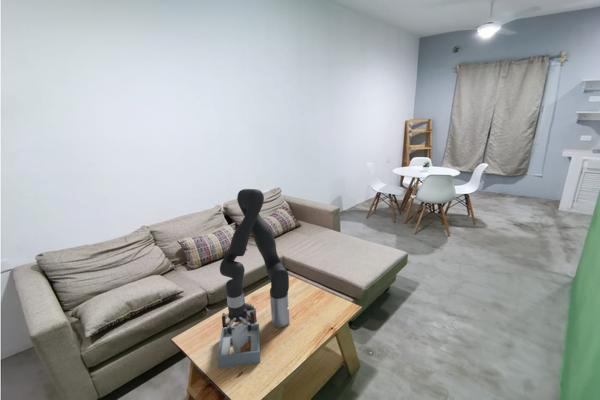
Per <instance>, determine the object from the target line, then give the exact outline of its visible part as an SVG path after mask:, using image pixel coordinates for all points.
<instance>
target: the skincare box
mask: <svg viewBox="0 0 600 400" xmlns="http://www.w3.org/2000/svg"><path fill="white" fill-rule="evenodd" d="M232 340H233V343H232V347H233V349H232V351H233V353H242V352H246V350H247V349H248V348H249V341H248V335H247V326H245V324H242V323H239V324H238V325H237V327H236V328H235V329H234V330H232Z"/></svg>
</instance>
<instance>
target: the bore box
mask: <svg viewBox="0 0 600 400" xmlns="http://www.w3.org/2000/svg"><path fill="white" fill-rule="evenodd" d="M244 325H245V324H244ZM237 326H238V325H237ZM237 326H231V334H229V333H228V330H227V327H225V328H223V327H222V328H221V332H220V338H219V344H218V351H217V364H218V369H221V368H222V369H223V368H230V367H237V366H243V365H251V364H252V365H253V364H260V363H261V337H260V336H261V334H260V323H252V324H251V330H250V332H249V331H248V324H246V325H245V326H247V335H248V342H250V351H244V352H242V353H235V352H233V353H231V344H233V340H232V330H234V329H235V328H236V327H237Z"/></svg>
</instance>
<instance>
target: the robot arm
mask: <svg viewBox="0 0 600 400" xmlns="http://www.w3.org/2000/svg"><path fill="white" fill-rule="evenodd" d="M264 196H265V195H264V193H263V192H262V191H261V190H260V189H257V188H256V189H255V188H254V189H253V188H244V189H241V190H239V192H238V193H237V196H236V197H237V198H236V199H237V204H238V207H239V208H240V210H241V213H242V214H243V216H244V217H243V219H242V220H241V222H240V223H239V225H238V226H237V228H236V229H235V231H234V233H233V234H232V237H231V241H230V244H229V248H228V250H227V252H226V254H225V255H224V257H223V259H222V260H221V262H220V265H219V273H220V274H221V276H224V277H227V278H230V279H229V280H227V281H226V283H225V289H226V290H225V291H226V304H227V310H228V313H225V312H223V313H221V314H222V315H221V322H222V323H221V326H222V328H226V327H227V330H228V333H229V334H231V327H232V326H233V324H234V323H235V324H236V323H242V322H243V323H244V324H246V325H248V331H249V332H250V330H251V325H252V324H256V323H255V319H254V313H253V309H251V310H250V311H246V307H245V303H246V300H245V295H244V289H243V281H244V276H245V266H244V265H243V263H241V262H239V261H236V259H237V257H244V256H245V253H246V250H247V246H248V243H249V239H250V237H251V236H250V235H251V234H252V239H253V240H254V243H255V245H256V247H257V249H258V251H259V253H260V255H261V256H262V258H263V261H264V265H265V269H266V274H267V277H268V278H269V280H270V288H269V297H270V298H269V299H270V314H271V315H270V316H271V317H270V318H271V324H272V325H273V326H274V327H275V328H285V327H286V326H288V325H290V324H291V323H290V307H289V289H290V275H289V272H288V270H287V268H286V267H285V266H284V265H283V263H282V261H281V259H280V257H279V255H278V252H277V244H276V243H277V242H276V239H275V236H274V233H273V231H272V228H271V227H270V225H269V224H268V223H267V222H266V221H265V219H264V218H262V216H261V215H260V213H261V210H262V208H263V204H264V202H265V197H264ZM247 314H248V315H249V316H251V320H250V319H249V318H248V317H247ZM227 319H229V320H228V322H226V320H227Z"/></svg>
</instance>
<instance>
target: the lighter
mask: <svg viewBox="0 0 600 400" xmlns="http://www.w3.org/2000/svg"><path fill="white" fill-rule="evenodd" d="M245 307H246V311H250V310H251V309H253V313H254V319H255V323H254V324H257V322H258V318H257V309H256V307H254V304H251V303H248V302H245ZM247 317H248V318H249V319H250V320H251V316H249V315H248V314H247Z"/></svg>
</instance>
